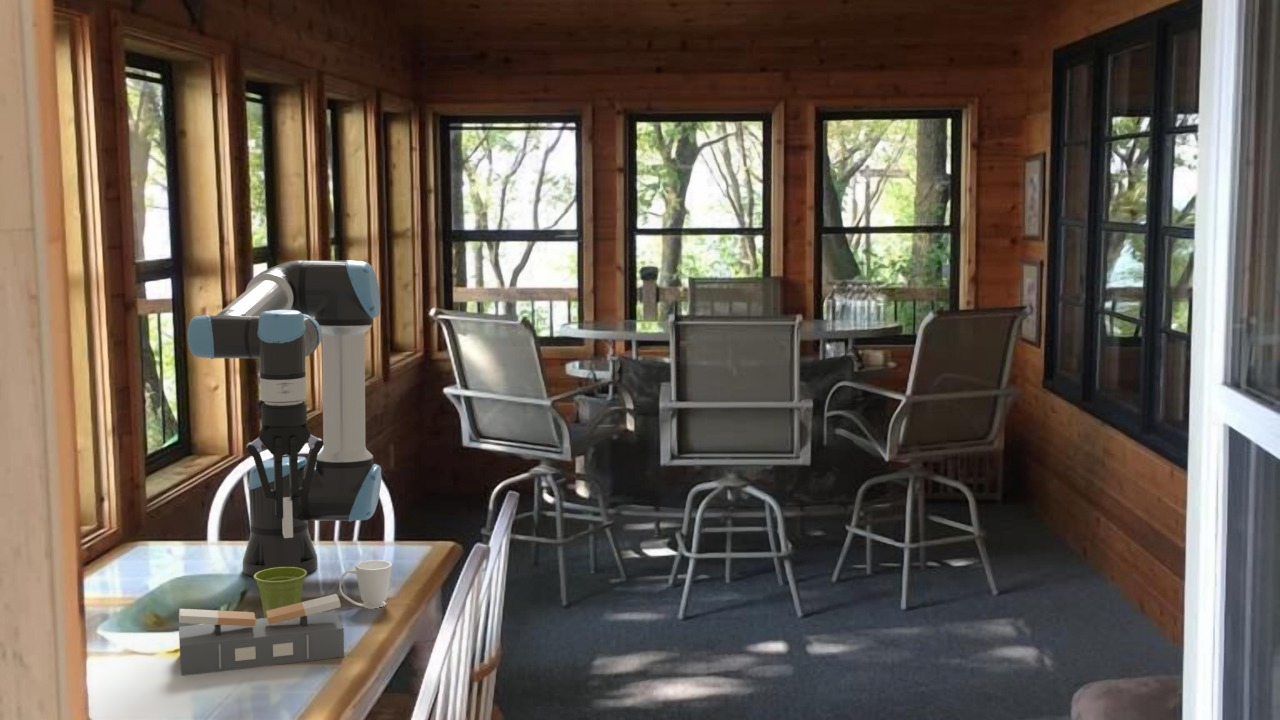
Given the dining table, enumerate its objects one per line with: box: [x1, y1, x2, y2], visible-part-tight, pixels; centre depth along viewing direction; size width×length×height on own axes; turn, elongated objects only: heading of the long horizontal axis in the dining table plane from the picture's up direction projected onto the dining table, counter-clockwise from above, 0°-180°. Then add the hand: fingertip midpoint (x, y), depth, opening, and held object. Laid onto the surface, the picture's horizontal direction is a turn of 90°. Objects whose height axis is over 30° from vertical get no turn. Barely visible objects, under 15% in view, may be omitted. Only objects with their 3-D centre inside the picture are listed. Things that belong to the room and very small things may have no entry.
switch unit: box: [178, 610, 345, 676], centre depth 217 cm, size 10×26×7 cm, turn 111°
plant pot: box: [253, 567, 308, 618], centre depth 236 cm, size 9×9×9 cm
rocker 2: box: [266, 593, 342, 625], centre depth 219 cm, size 4×12×1 cm, turn 111°
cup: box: [338, 559, 393, 610], centre depth 245 cm, size 7×10×8 cm
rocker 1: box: [178, 608, 257, 626], centre depth 214 cm, size 4×12×1 cm, turn 111°
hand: (287, 535), depth 222 cm, fingers closed
